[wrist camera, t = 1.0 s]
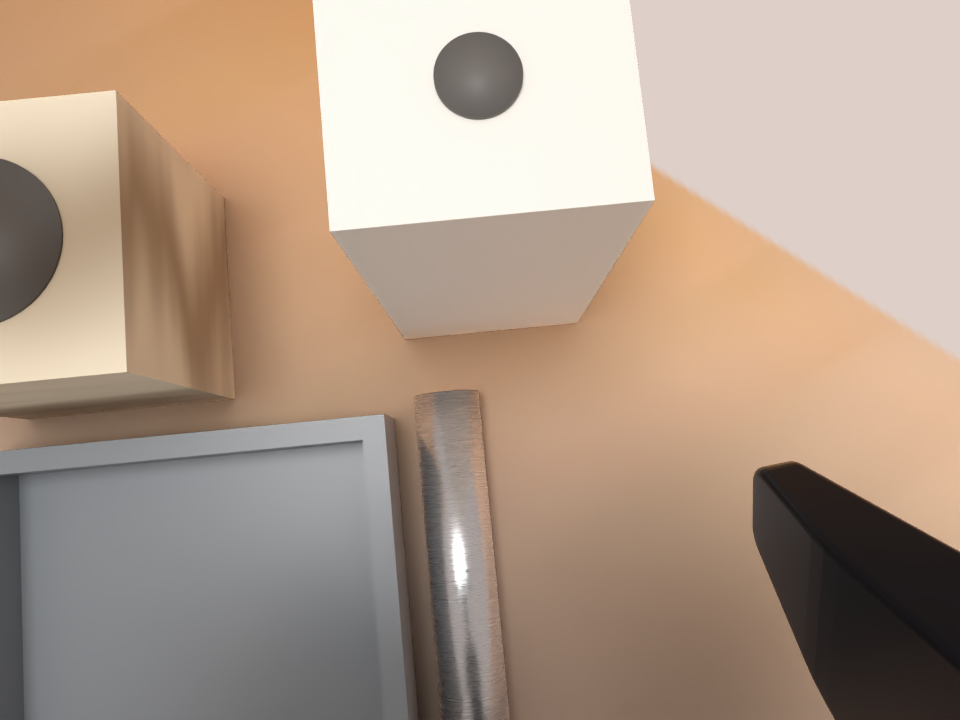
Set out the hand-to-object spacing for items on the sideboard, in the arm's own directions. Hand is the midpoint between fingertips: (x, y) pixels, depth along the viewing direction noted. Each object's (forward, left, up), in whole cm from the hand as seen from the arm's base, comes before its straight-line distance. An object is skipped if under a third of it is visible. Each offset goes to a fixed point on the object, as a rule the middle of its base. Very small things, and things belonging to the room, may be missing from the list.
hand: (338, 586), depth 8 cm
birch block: (+7, +8, -14) cm, 18 cm away
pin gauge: (-2, -1, -13) cm, 13 cm away
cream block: (+7, -2, -14) cm, 16 cm away
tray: (-3, +6, -14) cm, 16 cm away
